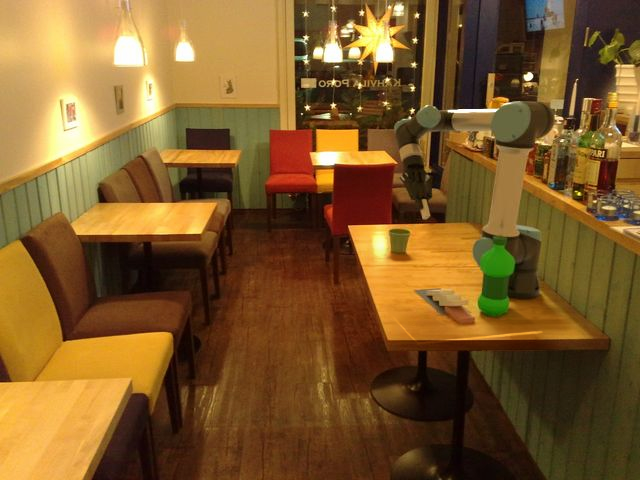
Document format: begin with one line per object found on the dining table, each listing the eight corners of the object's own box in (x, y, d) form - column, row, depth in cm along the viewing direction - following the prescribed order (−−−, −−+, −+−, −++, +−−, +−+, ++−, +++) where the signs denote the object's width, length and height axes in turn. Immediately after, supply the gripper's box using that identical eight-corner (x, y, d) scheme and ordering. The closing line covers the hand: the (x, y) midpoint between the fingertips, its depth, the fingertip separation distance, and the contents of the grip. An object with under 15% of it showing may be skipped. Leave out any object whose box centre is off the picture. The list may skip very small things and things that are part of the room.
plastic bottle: (487, 322, 184) (495, 244, 177) (469, 309, 194) (476, 234, 186) (516, 318, 187) (524, 241, 180) (496, 305, 197) (504, 231, 189)
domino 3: (438, 300, 194) (453, 300, 184) (453, 299, 195) (468, 299, 186) (439, 305, 194) (454, 306, 184) (453, 304, 195) (468, 304, 186)
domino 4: (444, 305, 190) (459, 318, 181) (459, 304, 191) (475, 317, 182) (444, 310, 191) (459, 323, 181) (458, 309, 192) (474, 322, 183)
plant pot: (411, 255, 247) (412, 234, 245) (387, 254, 248) (389, 234, 245) (408, 248, 256) (409, 228, 254) (385, 247, 257) (387, 228, 254)
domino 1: (426, 290, 203) (439, 290, 193) (440, 289, 204) (453, 289, 195) (426, 295, 203) (440, 295, 193) (440, 294, 204) (454, 294, 194)
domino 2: (432, 295, 199) (446, 295, 189) (446, 294, 200) (460, 294, 190) (432, 300, 198) (446, 300, 189) (446, 299, 200) (461, 299, 190)
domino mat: (413, 291, 207) (413, 290, 207) (439, 289, 210) (440, 288, 210) (441, 317, 187) (441, 315, 187) (470, 314, 190) (471, 312, 189)
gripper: (421, 166, 225) (436, 223, 216) (391, 163, 220) (405, 221, 210) (432, 155, 219) (448, 213, 209) (401, 152, 213) (416, 211, 204)
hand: (426, 217), depth 210 cm, fingers closed
